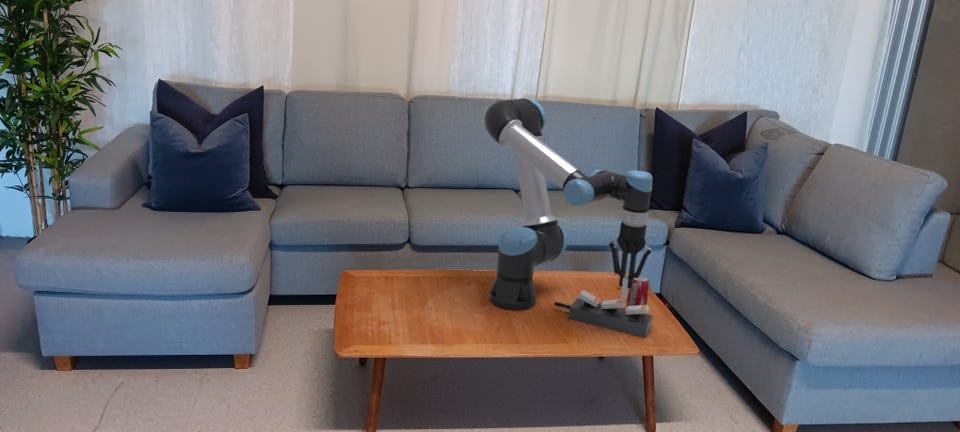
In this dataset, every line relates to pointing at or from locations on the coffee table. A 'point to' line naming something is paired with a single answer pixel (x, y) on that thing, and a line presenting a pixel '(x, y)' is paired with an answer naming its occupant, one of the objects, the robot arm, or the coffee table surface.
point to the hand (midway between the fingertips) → (624, 296)
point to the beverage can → (638, 292)
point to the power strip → (609, 317)
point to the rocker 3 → (637, 309)
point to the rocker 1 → (589, 298)
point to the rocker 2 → (613, 304)
